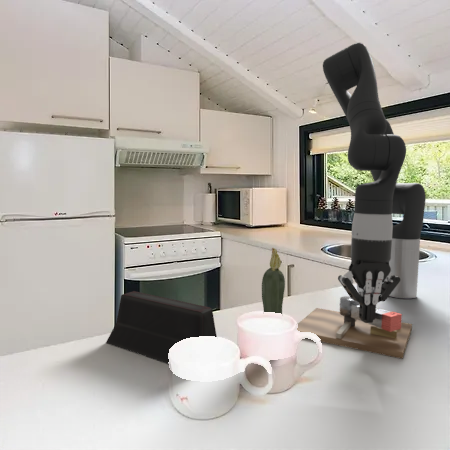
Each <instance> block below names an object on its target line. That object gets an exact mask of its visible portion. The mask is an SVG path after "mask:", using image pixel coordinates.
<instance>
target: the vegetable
mask: <svg viewBox="0 0 450 450" xmlns="http://www.w3.org/2000/svg"><path fill="white" fill-rule="evenodd" d="M271 250H272V251H271V257H270V260H269V268H267V269H266V271H265V272H264V273H263V275H262V279H261V280H262V281H261V300H262V305H263V306H262V307H263V313H264V312H275V313H281V314H282V315H283V304H284V296H285V288H286V280H285V279H286V278H285V275H284V273H283V272H282V271H281V270H280V267H281V266H282V261H281V257H280V255H279V253H278V250H277V249H276V248H274V247H272V248H271Z"/></svg>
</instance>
